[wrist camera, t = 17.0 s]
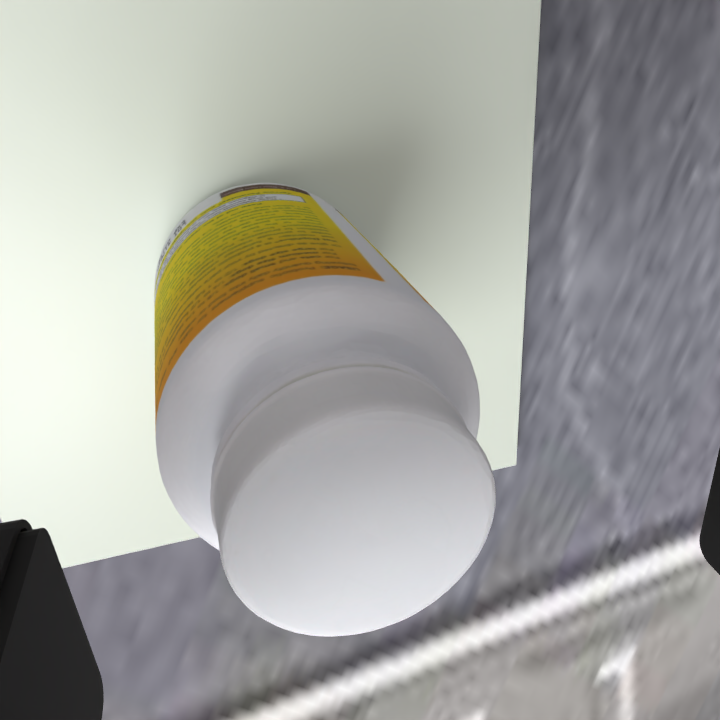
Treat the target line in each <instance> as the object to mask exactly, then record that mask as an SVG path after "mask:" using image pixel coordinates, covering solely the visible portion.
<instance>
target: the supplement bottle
mask: <svg viewBox="0 0 720 720" xmlns="http://www.w3.org/2000/svg"><path fill="white" fill-rule="evenodd" d="M154 309H155V311H154V334H155V432H156V449H157V457H158V464H159V470H160V474H161V478H162V481H163V484H164V486H165V489H166V491H167V494H168V496H169V498H170V499H171V501H172V503H173V505H174V507H175V509H176V510H177V511H178V513H179V514H180V515H181V517H182V518H183V520H184V521H185V522H186V523H187V524H188V525H189V526H190V527H191V528H192V529H193V530H194V531H195V532H196V533H197V534H198V535H199V536H200V537H201V538H202V539H204V540H205V541H206V542H208V543H209V544H210V545H212V546H213V547H215V548H216V549H218V550H220V556H221V561H222V564H223V568H224V571H225V574H226V576H227V579H228V581H229V583H230V585H231V587H232V588H233V590H234V592H235V593H236V594H237V596H238V597H239V598H240V599H241V601H242V602H243V603H244V604H245V605H246V606H247V607H248V608H249V609H250V610H251V611H253V612H254V613H255V614H256V615H257V616H259V617H261V618H263V619H264V620H266V621H268V622H270V623H272V624H274V625H276V626H278V627H280V628H283V629H286V630H289V631H292V632H295V633H300V634H306V635H312V636H345V635H354V634H360V633H365V632H370V631H373V630H377V629H380V628H383V627H386V626H388V625H391V624H394V623H397V622H400V621H402V620H404V619H406V618H408V617H410V616H412V615H414V614H416V613H417V612H419V611H421V610H422V609H424V608H425V607H427V606H428V605H430V604H431V603H433V602H434V601H436V600H437V599H438V598H439V597H441V596H442V595H443V594H444V593H445V592H447V591H448V590H449V589H450V588H451V587H452V586H453V585H454V584H455V583H456V582H457V581H458V580H459V579H460V578H461V577H462V576H463V574H464V573H465V572H466V571H467V570H468V569H469V567H470V566H471V565H472V563H473V562H474V560H475V559H476V557H477V556H478V554H479V552H480V551H481V549H482V547H483V545H484V543H485V541H486V538H487V536H488V533H489V530H490V527H491V525H492V521H493V516H494V510H495V500H496V489H495V482H494V476H493V473H492V469H491V465H490V463H489V461H488V459H487V456H486V454H485V452H484V451H483V449H482V448H481V446H480V445H479V443H478V442H477V440H476V439H477V434H478V429H479V420H480V396H479V389H478V383H477V379H476V375H475V372H474V369H473V366H472V363H471V360H470V358H469V356H468V354H467V351H466V349H465V347H464V346H463V344H462V342H461V341H460V339H459V338H458V336H457V335H456V333H455V332H454V331H453V329H452V328H451V327H450V325H449V324H448V323H447V322H446V321H445V320H444V318H443V317H442V316H441V315H440V314H439V313H438V312H437V311H436V310H435V309H434V308H433V307H432V306H431V305H430V304H429V303H428V302H427V301H426V300H425V299H424V297H423V296H422V295H421V294H420V293H419V292H418V291H417V290H416V289H415V288H414V287H413V286H412V285H411V284H410V283H409V282H408V281H407V280H406V279H405V277H404V276H403V275H402V274H401V273H400V272H399V271H398V270H397V269H396V268H395V267H394V266H393V265H392V264H391V263H390V262H389V261H388V260H387V259H386V258H385V257H384V256H383V255H382V254H381V253H380V251H378V250H377V249H376V248H375V247H374V246H373V245H372V244H371V243H370V242H369V241H368V240H367V239H366V238H365V237H364V236H363V235H362V234H361V233H360V232H359V231H358V230H357V229H356V228H355V227H354V226H353V225H352V224H351V223H350V222H349V221H348V220H347V219H346V218H345V217H344V216H343V215H342V214H341V213H340V212H339V211H338V210H336V209H335V208H334V207H333V206H331V205H330V204H329V203H327V202H326V201H324V200H323V199H321V198H320V197H318V196H316V195H314V194H312V193H310V192H308V191H305V190H303V189H300V188H297V187H293V186H289V185H284V184H277V183H253V184H244V185H239V186H234V187H231V188H228V189H225V190H223V191H220V192H218V193H216V194H214V195H212V196H210V197H208V198H207V199H205V200H203V201H202V202H200V203H199V204H198V205H196V206H195V207H194V208H193V209H191V210H190V211H189V212H188V213H187V214H186V215H185V216H184V217H183V218H182V219H181V220H180V221H179V223H178V224H177V225H176V227H175V228H174V229H173V231H172V232H171V234H170V236H169V237H168V239H167V241H166V243H165V245H164V247H163V249H162V252H161V254H160V257H159V261H158V265H157V269H156V275H155V285H154Z"/></svg>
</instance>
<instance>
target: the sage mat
mask: <svg viewBox="0 0 720 720" xmlns="http://www.w3.org/2000/svg"><path fill="white" fill-rule="evenodd" d="M540 12H541V0H0V518H1V520H2V523H4V522H9V521H15V520H20V519H24V520H27V521H28V522H29V523H30V525H31V527H32V529H38V528H45V529H46V530H47V531H48V533H49V535H50V537H51V540H52V542H53V545H54V548H55V551H56V553H57V556H58V559H59V562H60V564H61V567H62V568H66V567H70V566H74V565H79V564H83V563H88V562H92V561H96V560H101V559H105V558H110V557H114V556H118V555H123V554H127V553H132V552H136V551H140V550H145V549H149V548H154V547H158V546H162V545H167V544H171V543H176V542H180V541H184V540H189V539H193V538H197V537H200V536H199V535H198V534H197V533H196V532H195V531H194V530H193V529H192V528H191V527H190V526H189V525H188V524H187V523H186V522H185V521H184V520H183V518H182V517H181V515H180V514H179V513H178V511H177V510H176V509H175V507H174V505H173V503H172V501H171V499H170V498H169V496H168V494H167V491H166V489H165V486H164V484H163V481H162V478H161V474H160V470H159V464H158V457H157V449H156V432H155V334H154V311H155V309H154V285H155V275H156V269H157V265H158V261H159V257H160V254H161V252H162V249H163V247H164V245H165V243H166V241H167V239H168V237H169V236H170V234H171V232H172V231H173V229H174V228H175V227H176V225H177V224H178V223H179V221H180V220H181V219H182V218H183V217H184V216H185V215H186V214H187V213H188V212H189V211H190V210H191V209H193V208H194V207H195V206H196V205H198V204H199V203H200V202H202V201H203V200H205V199H207V198H208V197H210V196H212V195H214V194H216V193H218V192H220V191H223V190H225V189H228V188H231V187H234V186H239V185H244V184H253V183H277V184H284V185H289V186H293V187H297V188H300V189H303V190H305V191H308V192H310V193H312V194H314V195H316V196H318V197H320V198H321V199H323V200H324V201H326V202H327V203H329V204H330V205H331V206H333V207H334V208H335V209H336V210H338V211H339V212H340V213H341V214H342V215H343V216H344V217H345V218H346V219H347V220H348V221H349V222H350V223H351V224H352V225H353V226H354V227H355V228H356V229H357V230H358V231H359V232H360V233H361V234H362V235H363V236H364V237H365V238H366V239H367V240H368V241H369V242H370V243H371V244H372V245H373V246H374V247H375V248H376V249H377V250H378V251H380V253H381V254H382V255H383V256H384V257H385V258H386V259H387V260H388V261H389V262H390V263H391V264H392V265H393V266H394V267H395V268H396V269H397V270H398V271H399V272H400V273H401V274H402V275H403V276H404V277H405V279H406V280H407V281H408V282H409V283H410V284H411V285H412V286H413V287H414V288H415V289H416V290H417V291H418V292H419V293H420V294H421V295H422V296H423V297H424V299H425V300H426V301H427V302H428V303H429V304H430V305H431V306H432V307H433V308H434V309H435V310H436V311H437V312H438V313H439V314H440V315H441V316H442V317H443V318H444V320H445V321H446V322H447V323H448V324H449V325H450V327H451V328H452V329H453V331H454V332H455V333H456V335H457V336H458V338H459V339H460V341H461V342H462V344H463V346H464V347H465V349H466V351H467V354H468V356H469V358H470V360H471V363H472V366H473V369H474V372H475V375H476V379H477V383H478V389H479V396H480V420H479V429H478V434H477V439H476V440H477V442H478V443H479V445H480V446H481V448H482V449H483V451H484V452H485V454H486V456H487V459H488V461H489V463H490V465H491V469H492V470H496V469H501V468H505V467H510V466H514V465H516V457H517V439H518V420H519V401H520V383H521V364H522V346H523V327H524V309H525V290H526V272H527V253H528V235H529V216H530V198H531V179H532V161H533V142H534V124H535V105H536V86H537V68H538V49H539V31H540Z"/></svg>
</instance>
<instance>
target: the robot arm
mask: <svg viewBox="0 0 720 720" xmlns="http://www.w3.org/2000/svg"><path fill="white" fill-rule="evenodd" d="M700 547H701V550H702V553H703V555H704V557H705V559H706V560H707V562H708V563H709V564H710V565H711V566H712V567H713V568H714V569H715V570H716V571H717V573H718V574H719V575H720V449H719V453H718V458H717V462H716V467H715V471H714V476H713V480H712V485H711V489H710V493H709V498H708V502H707V507H706V511H705V516H704V520H703V525H702V529H701V534H700ZM102 711H103V684H102V678H101V675H100V672H99V669H98V666H97V663H96V661H95V658H94V655H93V652H92V650H91V647H90V644H89V641H88V639H87V636H86V633H85V630H84V628H83V625H82V622H81V619H80V617H79V614H78V611H77V608H76V606H75V603H74V600H73V597H72V595H71V592H70V589H69V586H68V584H67V581H66V578H65V575H64V573H63V570H62V567H61V564H60V562H59V559H58V556H57V553H56V551H55V548H54V545H53V542H52V540H51V537H50V535H49V533H48V531H47V530H46V529H45V528H38V529H32V527H31V525H30V523H29V522H28V521H27V520H24V519H20V520H15V521H9V522H4V523H0V720H101V719H102Z"/></svg>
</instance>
